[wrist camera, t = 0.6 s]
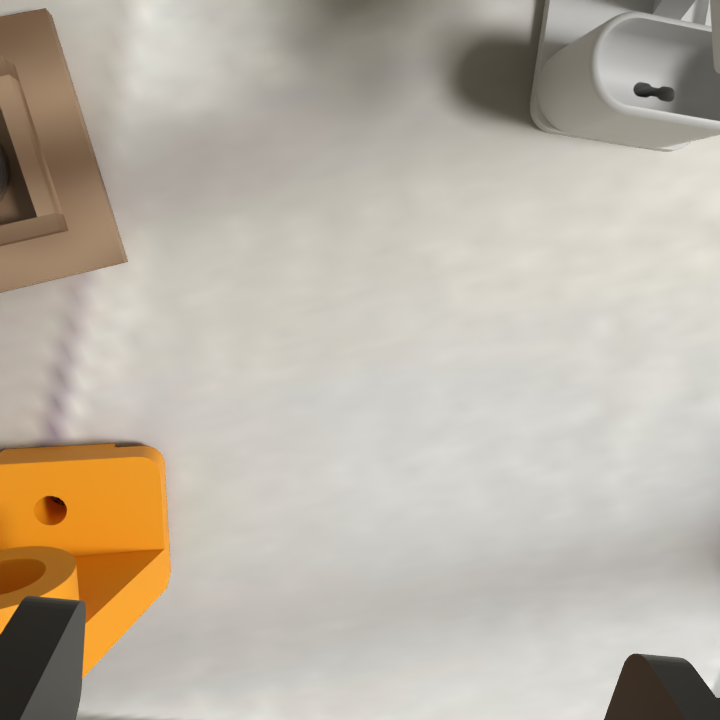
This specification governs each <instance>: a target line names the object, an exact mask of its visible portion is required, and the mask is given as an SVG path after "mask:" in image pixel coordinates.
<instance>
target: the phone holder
mask: <svg viewBox="0 0 720 720" xmlns="http://www.w3.org/2000/svg"><path fill="white" fill-rule="evenodd" d="M530 114H531V117H532V119H533V121H534V123H535V124H536V126H537V127H538V128H540V129H541V130H543V131H545V132H547V133H552V134H558V135H565V136H571V137H577V138H583V139H589V140H595V141H602V142H608V143H614V144H620V145H626V146H633V147H639V148H645V149H651V150H657V151H663V152H669V151H674V150H679V149H682V148H684V147H685V146H687V145H688V144H689V143H690V142H691V141H695V140H699V139H704V138H708V137H712V136H717V135H720V0H545V5H544V12H543V18H542V25H541V32H540V39H539V45H538V52H537V59H536V66H535V72H534V79H533V86H532V93H531V100H530Z"/></svg>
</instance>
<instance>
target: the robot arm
mask: <svg viewBox="0 0 720 720" xmlns="http://www.w3.org/2000/svg"><path fill="white" fill-rule="evenodd" d="M85 622H86V605H85V602H84V601H81V600H70V599H60V598H49V597H38V596H27V597H25V598H24V599H23V600H22V601H21V603H20V604H19V606H18V607H17V609H16V611H15V612H14V614H13V615H12V617H11V618H10V620H9V622H8V623H7V625H6V626H5V628H4V630H3V631H2V633H1V634H0V720H76V716H77V712H78V707H79V702H80V696H81V687H82V672H83V655H84V639H85ZM604 720H720V698H716V697H715V695H714V694H713V693H712V691H711V690H710V689H709V687H708V686H707V685H706V683H705V682H704V681H703V679H702V678H701V676H700V675H699V674H698V672H697V671H696V670H695V668H694V667H693V666H692V665H691V664H690V663H689V662H688V661H687V660H685V659H683V658H678V657H667V656H656V655H645V654H632V655H630V656H629V657H628V658H627V660H626V661H625V663H624V665H623V668H622V671H621V674H620V676H619V679H618V682H617V685H616V688H615V690H614V693H613V696H612V699H611V702H610V704H609V707H608V710H607V713H606V716H605V718H604Z"/></svg>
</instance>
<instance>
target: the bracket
mask: <svg viewBox="0 0 720 720" xmlns="http://www.w3.org/2000/svg"><path fill="white" fill-rule="evenodd" d="M50 496H55V497H58V498H60V499H61V500H62V501H63V502H64V503H65V505H60V504H57V503H55V502H54V501H53V500H52V499H51V497H50ZM170 573H171V564H170V547H169V530H168V513H167V496H166V479H165V463H164V458H163V456H162V455H161V453H160V452H159V451H158V450H156V449H155V448H153V447H150V446H132V447H116V443H111V444H92V445H74V446H55V447H36V448H17V449H4V450H3V451H1V452H0V634H1V633H2V631H3V630H4V628H5V626H6V625H7V623H8V622H9V620H10V618H11V617H12V615H13V614H14V612H15V611H16V609H17V607H18V606H19V604H20V603H21V601H22V600H23V599H24V598H25V597H27V596H38V597H49V598H60V599H70V600H81V601H84V602H85V605H86V622H85V639H84V655H83V672H82V678H83V677H84V676H85V675H86V674H87V673H88V672H89V671H90V670H91V669H92V668H93V667H94V665H95V664H96V663H97V662H98V661H99V660H100V659H101V658H102V657H103V656H104V655H105V654H106V653H107V652H108V650H109V649H110V648H111V647H112V646H113V645H114V644H115V643H116V642H117V641H118V640H119V639H120V638H121V637H122V635H123V634H124V633H125V632H126V631H127V630H128V629H129V628H130V627H131V626H132V625H133V624H134V623H135V622H136V620H137V619H138V618H139V617H140V616H141V615H142V614H143V613H144V612H145V611H146V610H147V609H148V608H149V607H150V605H151V604H152V603H153V602H154V601H155V600H156V599H157V598H158V597H159V596H160V595H161V594H162V593H163V592H164V590H165V589H166V588H167V586H168V581H169V577H170Z"/></svg>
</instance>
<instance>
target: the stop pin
mask: <svg viewBox="0 0 720 720" xmlns="http://www.w3.org/2000/svg"><path fill="white" fill-rule="evenodd" d="M10 178H11V169H10V163H9V159H8V156H7V154H6V151H5V149H4V148H3V146H2V144H1V143H0V202H1V201H2V199H3V198H4V196H5V194H6V192H7V190H8V187H9V184H10Z"/></svg>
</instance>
